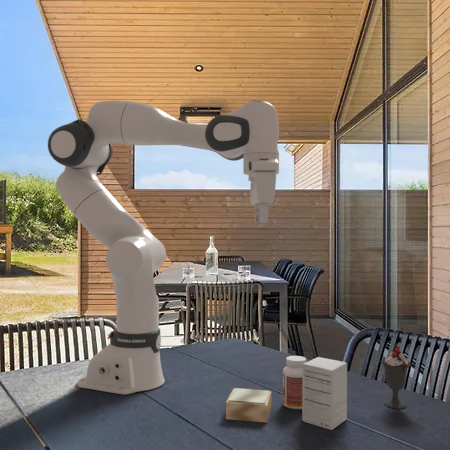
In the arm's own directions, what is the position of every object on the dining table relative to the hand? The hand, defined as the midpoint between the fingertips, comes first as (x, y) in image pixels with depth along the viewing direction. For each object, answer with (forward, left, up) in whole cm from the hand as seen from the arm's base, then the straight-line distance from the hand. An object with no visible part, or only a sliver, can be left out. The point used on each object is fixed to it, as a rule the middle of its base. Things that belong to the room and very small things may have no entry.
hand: (261, 222), depth 123 cm
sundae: (+32, -1, -43) cm, 54 cm away
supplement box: (+16, -13, -43) cm, 48 cm away
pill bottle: (+9, -6, -43) cm, 44 cm away
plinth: (-1, -13, -43) cm, 44 cm away
